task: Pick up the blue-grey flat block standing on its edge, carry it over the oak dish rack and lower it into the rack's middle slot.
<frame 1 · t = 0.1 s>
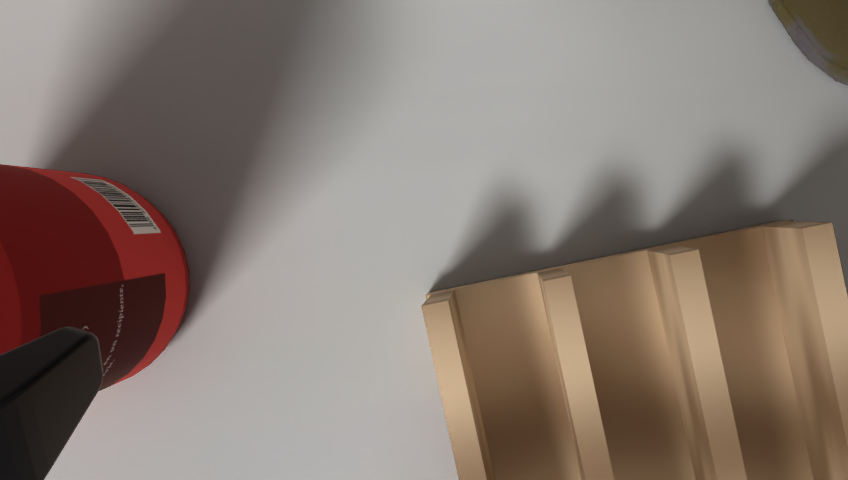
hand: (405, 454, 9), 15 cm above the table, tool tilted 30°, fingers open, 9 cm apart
canned food: (97, 277, 26), on the table
rack: (636, 429, 23), on the table
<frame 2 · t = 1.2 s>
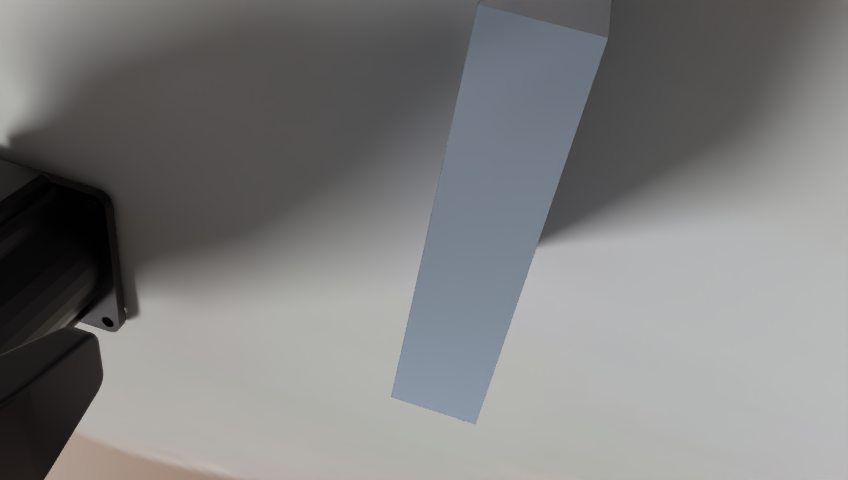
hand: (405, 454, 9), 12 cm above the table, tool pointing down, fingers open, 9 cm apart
blue-grey flat block: (524, 109, 19), on the table
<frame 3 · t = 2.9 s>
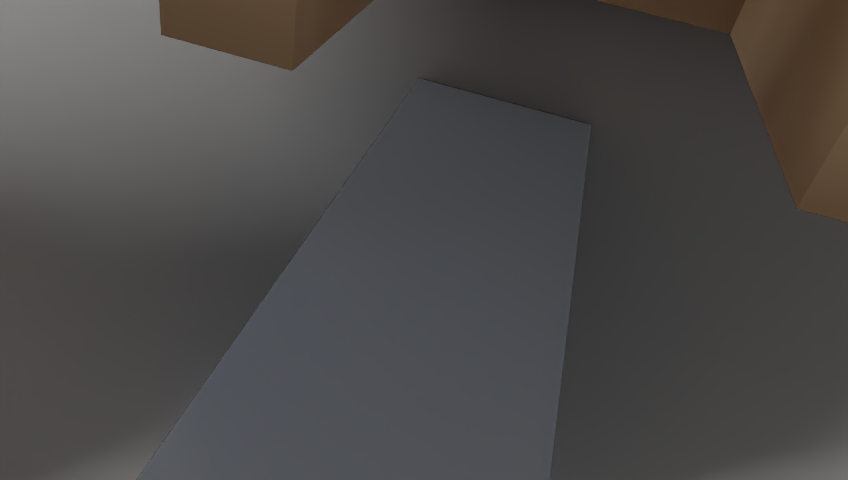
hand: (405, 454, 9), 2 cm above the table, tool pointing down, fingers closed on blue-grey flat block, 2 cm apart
blue-grey flat block: (432, 373, 10), on the table, touching gripper
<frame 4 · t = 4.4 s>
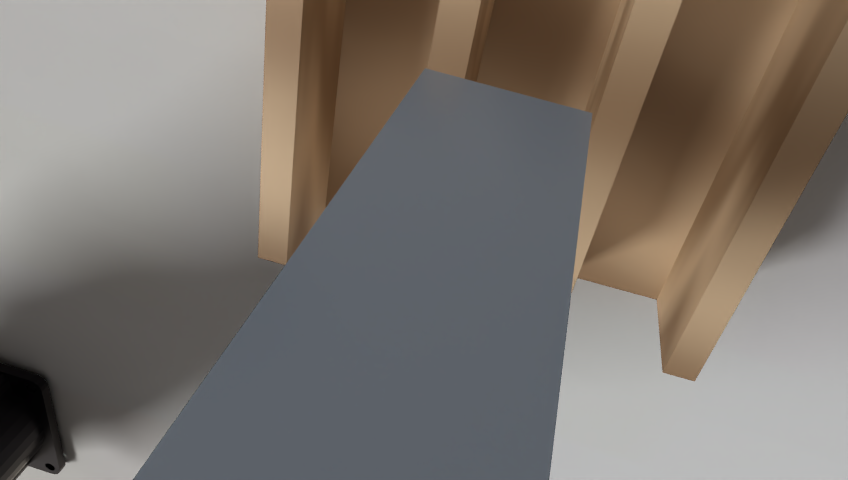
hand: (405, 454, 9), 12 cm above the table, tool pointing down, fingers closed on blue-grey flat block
blue-grey flat block: (436, 359, 11), point 10 cm above the table, touching gripper
rack: (543, 47, 17), on the table
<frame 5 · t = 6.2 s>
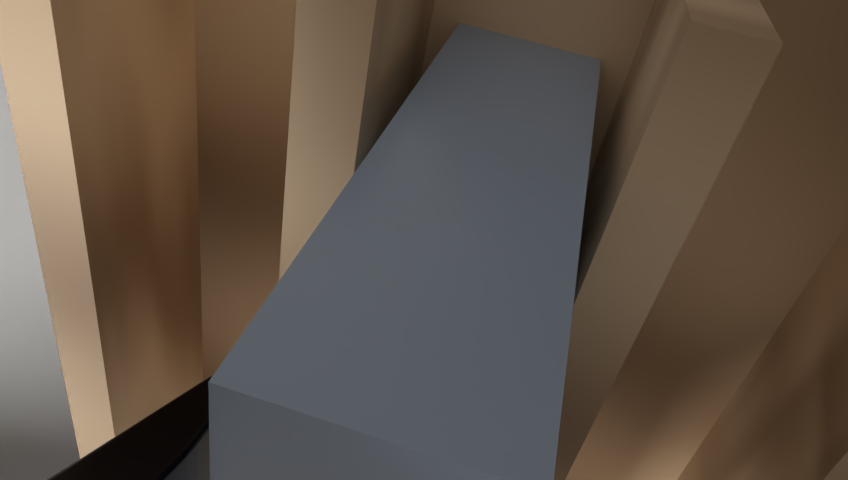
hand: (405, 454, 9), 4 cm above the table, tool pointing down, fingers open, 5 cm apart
blue-grey flat block: (461, 287, 12), point 1 cm above the table, touching rack
rack: (471, 260, 13), on the table
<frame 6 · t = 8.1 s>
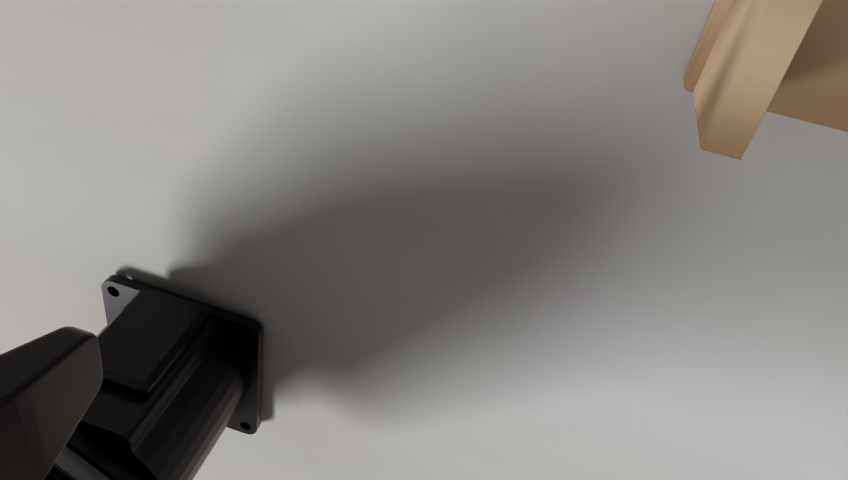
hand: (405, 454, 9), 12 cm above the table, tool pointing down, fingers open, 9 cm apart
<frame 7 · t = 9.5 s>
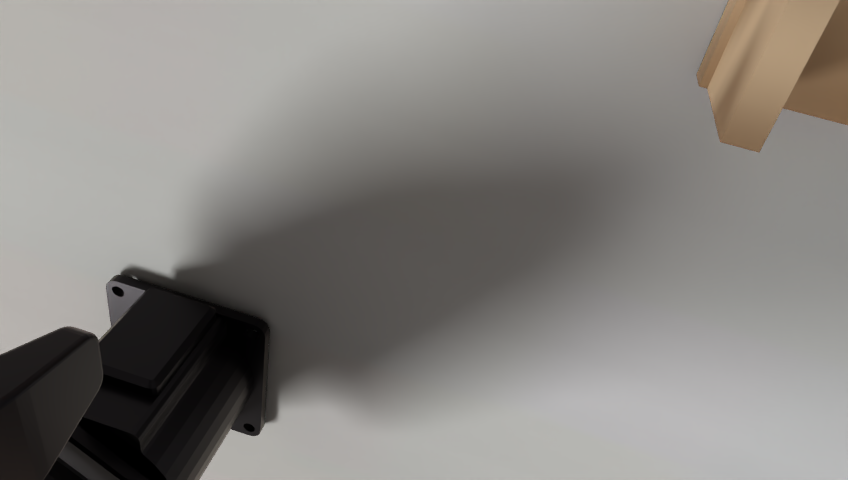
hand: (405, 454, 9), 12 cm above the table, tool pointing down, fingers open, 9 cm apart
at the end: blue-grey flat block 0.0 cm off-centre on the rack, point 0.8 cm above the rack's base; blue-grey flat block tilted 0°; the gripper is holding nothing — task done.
